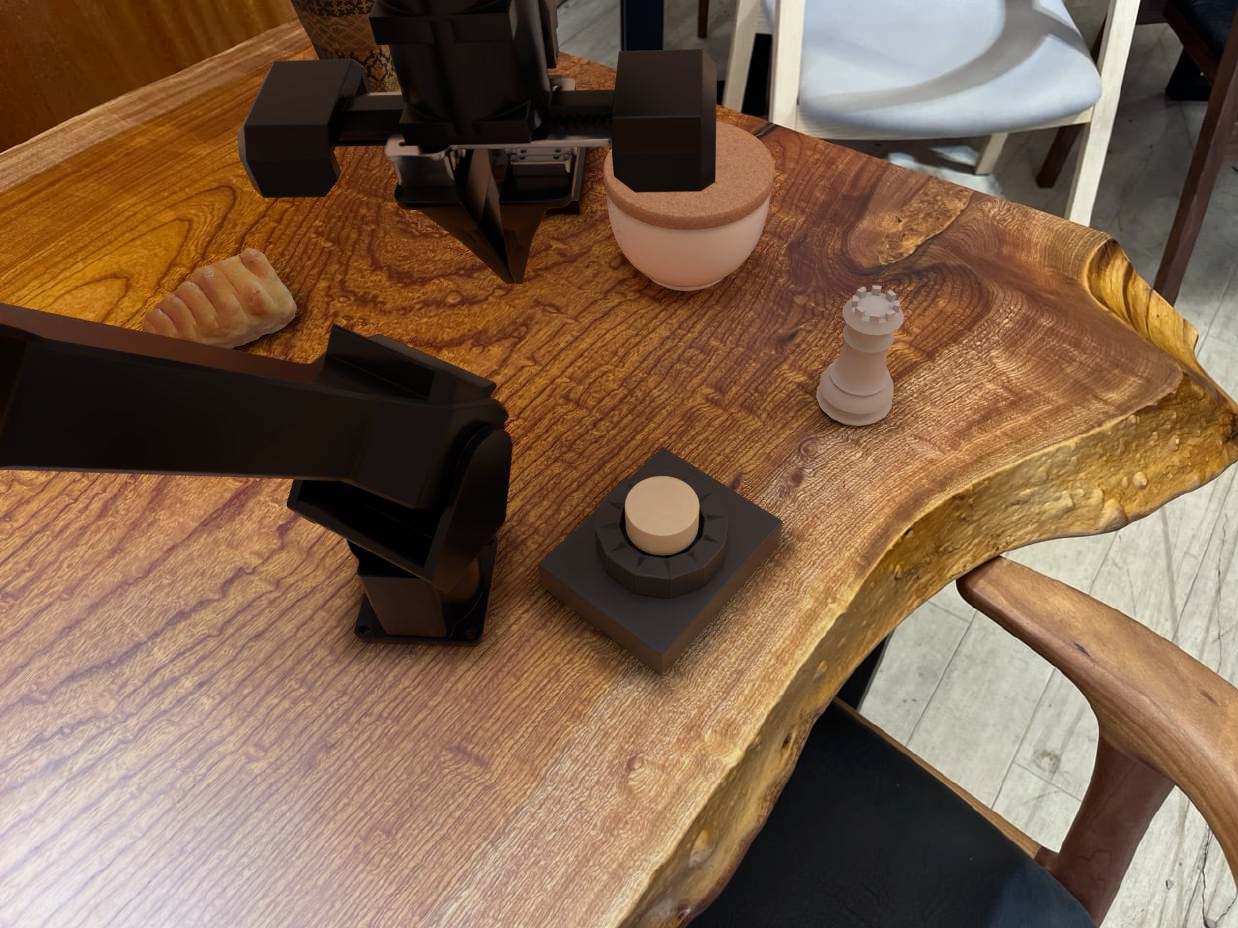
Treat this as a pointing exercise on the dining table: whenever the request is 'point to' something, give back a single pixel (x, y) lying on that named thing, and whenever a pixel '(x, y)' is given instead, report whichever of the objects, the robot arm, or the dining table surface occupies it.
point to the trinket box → (696, 217)
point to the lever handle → (497, 163)
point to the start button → (662, 515)
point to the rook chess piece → (862, 360)
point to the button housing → (660, 566)
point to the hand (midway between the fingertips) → (516, 277)
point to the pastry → (225, 303)
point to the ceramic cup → (348, 38)
